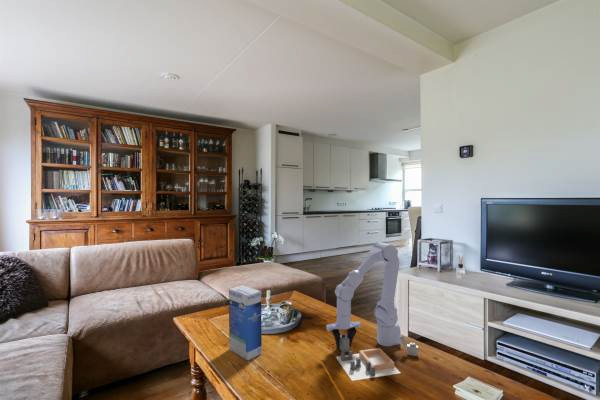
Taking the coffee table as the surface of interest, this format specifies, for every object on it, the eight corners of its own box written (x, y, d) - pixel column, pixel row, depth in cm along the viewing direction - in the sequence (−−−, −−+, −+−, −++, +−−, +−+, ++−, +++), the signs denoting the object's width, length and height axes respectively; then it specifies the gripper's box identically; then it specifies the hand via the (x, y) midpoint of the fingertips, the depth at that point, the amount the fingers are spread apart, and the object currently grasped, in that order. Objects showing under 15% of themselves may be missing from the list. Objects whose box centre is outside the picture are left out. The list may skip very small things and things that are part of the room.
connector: (344, 347, 128) (344, 331, 128) (349, 353, 123) (349, 336, 123) (338, 348, 128) (338, 331, 127) (342, 354, 123) (342, 337, 123)
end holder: (379, 352, 122) (379, 347, 122) (394, 367, 112) (394, 362, 112) (359, 355, 120) (359, 350, 120) (372, 371, 109) (372, 365, 109)
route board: (378, 352, 124) (378, 343, 124) (400, 375, 108) (401, 364, 108) (335, 358, 119) (335, 349, 119) (352, 383, 104) (352, 372, 104)
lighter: (417, 356, 121) (417, 336, 121) (418, 358, 120) (418, 338, 120) (399, 353, 124) (399, 333, 123) (399, 355, 122) (399, 335, 122)
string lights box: (262, 354, 123) (262, 291, 122) (247, 361, 117) (247, 295, 117) (242, 343, 132) (242, 284, 131) (227, 349, 126) (227, 288, 126)
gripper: (355, 308, 131) (355, 339, 131) (324, 311, 127) (324, 343, 128) (363, 314, 124) (362, 347, 124) (329, 318, 120) (329, 351, 121)
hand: (343, 346), depth 125 cm, fingers open, 4 cm apart
